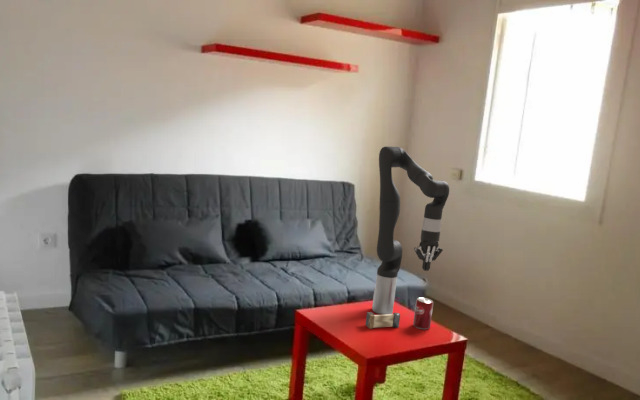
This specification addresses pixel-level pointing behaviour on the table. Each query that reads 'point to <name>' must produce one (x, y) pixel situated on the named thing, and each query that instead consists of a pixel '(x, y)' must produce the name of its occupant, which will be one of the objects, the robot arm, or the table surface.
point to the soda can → (423, 313)
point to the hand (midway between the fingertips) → (425, 270)
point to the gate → (380, 320)
